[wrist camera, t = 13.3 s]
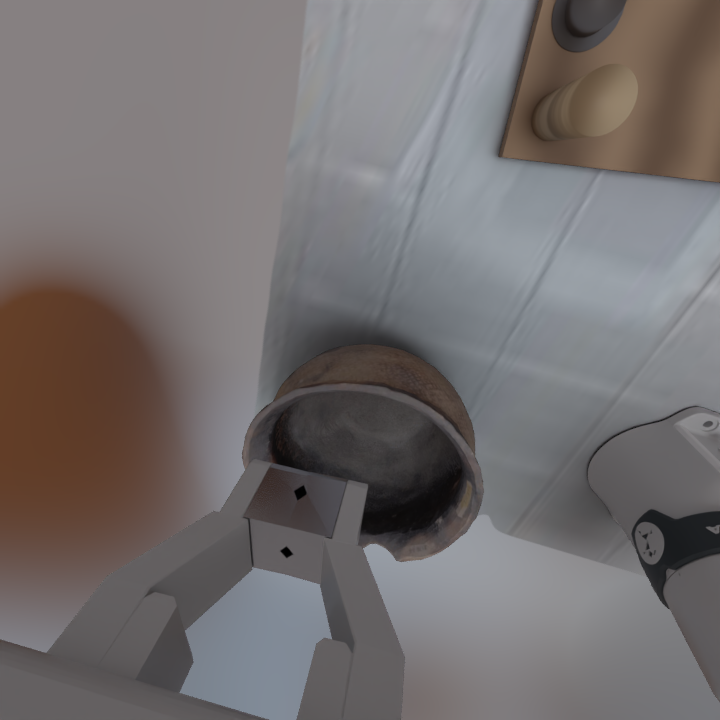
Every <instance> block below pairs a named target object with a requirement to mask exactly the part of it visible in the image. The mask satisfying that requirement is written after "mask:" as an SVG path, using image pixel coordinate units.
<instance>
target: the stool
mask: <svg viewBox="0 0 720 720" xmlns="http://www.w3.org/2000/svg"><path fill="white" fill-rule="evenodd" d="M568 1H569V0H539V2H538V6H537V10H536V13H535V17H534V21H533V25H532V29H531V33H530V37H529V40H528V44H527V48H526V52H525V56H524V60H523V64H522V68H521V71H520V75H519V79H518V83H517V87H516V91H515V95H514V99H513V102H512V106H511V110H510V114H509V118H508V122H507V126H506V129H505V133H504V137H503V141H502V145H501V149H500V153H499V157H504V158H513V159H521V160H530V161H539V162H547V163H556V164H564V165H573V166H582V167H590V168H599V169H607V170H616V171H625V172H633V173H642V174H650V175H659V176H667V177H676V178H685V179H693V180H702V181H710V182H719V183H720V0H627V1H626V4H625V5H624V7H623V9H622V11H621V12H620V13H619V15H618V16H617V17H616V18H615V19H614V20H613V21H611V22H610V23H609V24H607V25H606V26H605V27H603V28H602V29H601V30H599V31H598V32H597V33H595V34H593V35H591V36H588V37H577V36H575V35H573V34H572V33H571V32H570V31H569V30H568V28H567V26H566V22H565V11H566V7H567V3H568Z"/></svg>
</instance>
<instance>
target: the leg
mask: <svg viewBox="0 0 720 720" xmlns="http://www.w3.org/2000/svg"><path fill="white" fill-rule="evenodd" d="M626 1H627V0H569V1H568V3H567V7H566V11H565V22H566V26H567V28H568V30H569V31H570V32H571V33H572V34H573V35H575V36H577V37H588V36H591V35H593V34H595V33H597V32H598V31H599V30H601V29H602V28H603V27H605V26H606V25H607V24H609V23H610V22H611V21H613V20H614V19H615V18H616V17H617V16H618V15H619V13H620V12H621V11H622V9H623V7H624V5H625V4H626Z"/></svg>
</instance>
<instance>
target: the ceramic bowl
mask: <svg viewBox="0 0 720 720" xmlns="http://www.w3.org/2000/svg"><path fill="white" fill-rule="evenodd" d="M242 459H243V464H244V467H245V470H246V468H247V466H248V465H249V463H250V462H252V461H253V460H254V459H257V460H262V461H266V462H270V463H275V464H279V465H283V466H287V467H291V468H295V469H299V470H303V471H307V472H314V473H319V474H324V475H329V476H334V477H339V478H343V479H348V480H351V481H356V482H360V483H365V484H368V490H367V496H366V501H365V507H364V513H363V519H362V525H361V531H360V536H359V541H358V546H362V548H365V547H366V546H367V545H369V544H378V545H380V546H382V547H384V548H386V549H387V550H388V551H389V552H390V553H391V554H392V555H393V556H394V558H395V559H396V561H400V562H404V561H412V560H422V559H424V558H428V557H430V556H432V555H435V554H437V553H439V552H441V551H442V550H444V549H446V548H447V547H449V546H450V545H451V544H452V543H453V542H455V541H456V540H457V539H458V538H459V537H460V536H462V535H463V534H465V533H466V532H467V530H468V529H469V527H470V526H471V524H472V522H473V521H474V520H475V519H476V517H477V514H478V511H479V509H480V506H481V502H482V498H483V492H484V489H483V480H482V474H481V469H480V467H479V464H478V462H477V460H476V458H475V437H474V431H473V427H472V423H471V420H470V418H469V415H468V413H467V410H466V408H465V406H464V404H463V402H462V400H461V398H460V396H459V395H458V394H457V392H456V391H455V389H454V388H453V386H452V385H451V384H450V382H449V381H448V380H447V379H446V378H445V377H444V376H443V375H442V374H441V373H440V372H439V371H438V370H437V369H436V368H434V367H433V366H431V365H430V364H428V363H427V362H425V361H424V360H422V359H420V358H418V357H416V356H414V355H412V354H410V353H408V352H406V351H404V350H400V349H397V348H392V347H388V346H381V345H373V344H360V345H348V346H343V347H337V348H334V349H331V350H328V351H326V352H324V353H322V354H320V355H318V356H316V357H315V358H313V359H311V360H310V361H308V362H307V363H305V364H303V365H302V366H300V367H299V368H298V369H296V370H295V371H294V372H293V373H292V374H291V375H290V376H289V377H288V378H287V380H286V381H285V382H284V383H283V384H282V386H281V387H280V389H279V390H278V393H277V395H276V397H275V399H274V401H273V402H272V403H270V404H268V405H267V406H266V407H265V408H264V409H262V410H261V411H260V412H259V413H258V414H257V415H256V417H255V418H254V419H253V421H252V422H251V424H250V426H249V428H248V431H247V433H246V436H245V441H244V447H243V452H242Z"/></svg>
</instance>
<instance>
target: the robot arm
mask: <svg viewBox="0 0 720 720" xmlns="http://www.w3.org/2000/svg"><path fill="white" fill-rule="evenodd" d="M706 421H707V422H706ZM588 481H589V484H590V486H591V488H592V490H593V491H594V492H595V493H596V494H597V496H598V497H599V498H600V499H601V500H602V501H603V502H604V504H605V505H606V506H607V508H608V509H609V511H610V514H611V516H612V517H613V519H614V520H615V522H616V523H618V524H620V526H621V527H622V529H623V531H624V532H625V534H626V535H627V537H628V538H629V540H630V541H631V543H632V544H633V546H634V547H635V549H636V551H637V554H638V557H639V560H640V563H641V565H642V567H643V569H644V571H645V573H646V575H647V577H648V578H649V581H650V582H651V586H652V587H653V589H654V591H655V592H656V593H657V595H658V597H659V599H660V601H661V602H662V603H663V604H664V605H665V606H666V607H667V608H668V609H670V610H671V612H672V614H673V616H674V618H675V620H676V622H677V624H678V626H679V628H680V630H681V632H682V634H683V636H684V638H685V640H686V642H687V644H688V645H689V647H690V649H691V651H692V653H693V655H694V657H695V659H696V661H697V663H698V665H699V667H700V669H701V670H702V672H703V674H704V676H705V678H706V680H707V682H708V684H709V686H710V688H711V690H712V692H713V694H714V695H715V697H716V698H717V699H718V700H719V702H720V414H719V413H716V412H713V411H711V410H708V409H705V408H702V407H692V408H689V409H686V410H684V411H682V412H680V413H678V414H676V415H674V416H672V417H670V418H668V419H666V420H664V421H661V422H657V423H653V424H648V425H644V426H640V427H637V428H634V429H631V430H629V431H626V432H624V433H622V434H620V435H618V436H616V437H614V438H613V439H611V440H610V441H608V442H607V443H606V444H605V445H603V446H602V447H601V448H600V449H599V450H598V451H597V453H596V454H595V455H594V457H593V458H592V460H591V462H590V465H589V468H588ZM367 490H368V484H365V483H360V482H356V481H351V480H348V479H343V478H339V477H334V476H329V475H324V474H319V473H314V472H307V471H303V470H299V469H295V468H291V467H287V466H283V465H279V464H275V463H270V462H266V461H262V460H257V459H254V460H253V461H252V462H250V463H249V465H248V466H247V468H246V470H245V471H244V473H243V475H242V476H241V478H240V479H239V481H238V483H237V484H236V486H235V488H234V489H233V491H232V493H231V494H230V496H229V497H228V499H227V501H226V502H225V504H224V506H223V507H222V509H221V511H220V512H216V511H213V512H211V513H210V514H208V515H206V516H205V517H203V518H201V519H200V520H198V521H196V522H195V523H193V524H192V525H190V526H188V527H187V528H185V529H183V530H182V531H180V532H179V533H177V534H175V535H174V536H172V537H170V538H169V539H167V540H165V541H164V542H162V543H160V544H159V545H157V546H156V547H154V548H153V549H151V550H149V551H147V552H146V553H144V554H142V555H141V556H140V557H138V558H136V559H134V560H133V561H131V562H129V563H128V564H126V565H125V566H123V567H121V568H120V569H118V570H116V571H115V572H113V573H111V574H110V575H108V576H107V577H106V578H105V579H104V580H103V582H102V583H101V584H100V586H99V587H98V588H97V589H96V591H95V592H94V593H93V595H92V596H91V597H90V598H89V600H88V601H87V602H86V603H85V605H84V606H83V607H82V608H81V610H80V611H79V612H78V614H77V615H76V616H75V617H74V619H73V620H72V621H71V623H70V624H69V625H68V626H67V627H66V629H65V630H64V632H63V633H62V634H61V635H60V636H59V638H58V639H57V640H56V641H55V643H54V644H53V645H52V647H51V648H50V649H49V650H48V652H47V653H44V652H41V651H37V650H34V649H31V648H27V647H24V646H20V645H17V644H14V643H11V642H7V641H4V640H0V720H268V719H265V718H261V717H258V716H255V715H251V714H248V713H244V712H241V711H238V710H235V709H231V708H228V707H225V706H221V705H218V704H215V703H211V702H208V701H204V700H201V699H198V698H194V697H191V696H188V695H184V694H181V693H179V692H180V690H181V688H182V685H183V683H184V681H185V679H186V677H187V675H188V673H189V670H190V668H191V666H192V664H193V657H192V652H191V649H190V646H189V643H188V640H187V637H186V633H185V630H186V629H187V628H188V627H190V626H191V625H192V624H193V623H194V622H195V621H196V620H197V619H198V618H199V617H201V616H202V615H203V614H204V613H205V612H206V611H207V610H208V609H209V608H210V607H212V606H213V605H214V604H215V603H216V602H217V601H218V600H219V599H220V598H221V597H223V596H224V595H225V594H226V593H227V592H228V591H229V590H230V589H231V588H233V586H235V585H236V584H237V583H238V582H239V581H240V580H241V579H242V578H243V577H245V576H246V575H247V574H248V573H249V572H250V571H251V570H252V567H254V568H259V569H263V570H268V571H272V572H277V573H282V574H286V575H289V576H293V577H297V578H300V579H303V580H307V581H311V582H314V583H317V584H320V587H321V592H322V596H323V601H324V605H325V609H326V614H327V618H328V623H329V627H330V632H331V636H332V639H328V638H323V639H322V640H321V641H320V642H318V643H317V644H316V647H315V651H314V655H313V659H312V663H311V667H310V670H309V674H308V678H307V682H306V686H305V689H304V693H303V697H302V701H301V705H300V709H299V712H298V716H297V720H401V712H402V697H403V681H404V664H405V656H404V654H403V651H402V648H401V646H400V643H399V641H398V638H397V635H396V633H395V630H394V628H393V625H392V623H391V620H390V618H389V615H388V612H387V610H386V607H385V605H384V602H383V599H382V597H381V594H380V592H379V589H378V586H377V584H376V581H375V579H374V576H373V574H372V571H371V569H370V566H369V563H368V561H367V558H366V555H365V553H364V550H363V548H362V546H358V541H359V536H360V531H361V525H362V519H363V513H364V507H365V501H366V496H367Z"/></svg>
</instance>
